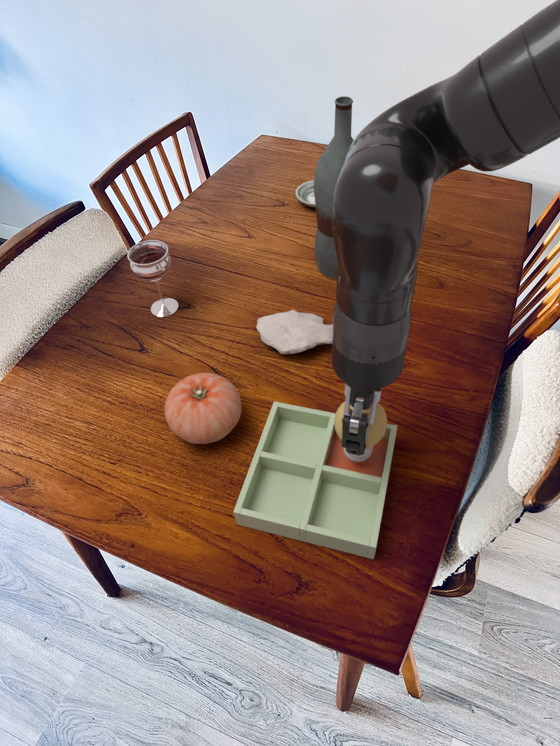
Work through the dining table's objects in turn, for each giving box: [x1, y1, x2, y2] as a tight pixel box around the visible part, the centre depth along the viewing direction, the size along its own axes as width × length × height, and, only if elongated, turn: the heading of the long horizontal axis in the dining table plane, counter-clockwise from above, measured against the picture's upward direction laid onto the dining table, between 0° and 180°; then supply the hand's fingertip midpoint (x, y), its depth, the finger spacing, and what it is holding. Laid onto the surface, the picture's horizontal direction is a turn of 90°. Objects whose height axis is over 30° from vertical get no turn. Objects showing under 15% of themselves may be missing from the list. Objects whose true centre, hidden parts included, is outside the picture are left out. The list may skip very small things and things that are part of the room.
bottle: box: [313, 95, 354, 280], centre depth 87 cm, size 9×9×30 cm
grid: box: [232, 401, 398, 560], centre depth 68 cm, size 17×17×4 cm
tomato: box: [163, 372, 243, 445], centre depth 73 cm, size 11×11×8 cm
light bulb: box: [334, 401, 388, 462], centre depth 65 cm, size 6×6×10 cm
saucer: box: [295, 179, 316, 208], centre depth 112 cm, size 10×10×2 cm
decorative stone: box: [255, 309, 333, 355], centre depth 85 cm, size 11×4×15 cm
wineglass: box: [127, 239, 179, 318], centre depth 89 cm, size 7×7×12 cm
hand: (360, 427), depth 65 cm, fingers closed on light bulb, 6 cm apart
